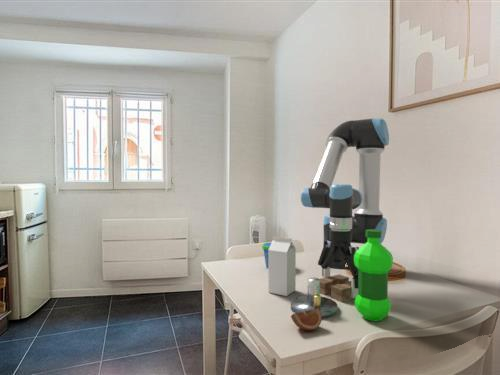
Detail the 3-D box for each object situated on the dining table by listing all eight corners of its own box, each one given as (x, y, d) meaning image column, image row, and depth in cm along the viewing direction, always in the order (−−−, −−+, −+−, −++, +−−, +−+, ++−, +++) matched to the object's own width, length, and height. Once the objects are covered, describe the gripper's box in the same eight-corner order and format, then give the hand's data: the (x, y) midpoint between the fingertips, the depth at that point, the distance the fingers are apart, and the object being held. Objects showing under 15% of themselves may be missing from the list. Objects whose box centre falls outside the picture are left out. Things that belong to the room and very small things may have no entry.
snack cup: (258, 263, 154) (258, 241, 154) (280, 262, 156) (280, 240, 156) (267, 273, 139) (267, 248, 138) (291, 271, 141) (291, 247, 141)
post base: (314, 296, 112) (314, 270, 112) (347, 311, 100) (347, 281, 100) (281, 305, 104) (281, 277, 104) (312, 322, 93) (312, 290, 92)
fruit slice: (298, 337, 84) (299, 317, 84) (285, 326, 91) (285, 308, 90) (326, 330, 88) (326, 312, 88) (311, 320, 94) (311, 303, 94)
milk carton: (286, 296, 112) (286, 240, 111) (268, 292, 116) (268, 238, 115) (295, 290, 118) (295, 236, 117) (277, 286, 122) (277, 235, 121)
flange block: (339, 284, 124) (339, 274, 124) (366, 294, 114) (366, 283, 114) (315, 291, 117) (315, 279, 117) (341, 302, 107) (341, 289, 107)
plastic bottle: (364, 307, 103) (365, 226, 102) (398, 318, 95) (400, 230, 94) (346, 316, 97) (347, 230, 96) (381, 328, 89) (382, 235, 88)
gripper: (308, 225, 123) (308, 283, 124) (362, 235, 102) (361, 305, 103) (323, 224, 127) (322, 280, 128) (378, 233, 106) (377, 300, 107)
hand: (340, 291), depth 116 cm, fingers closed on flange block, 12 cm apart
